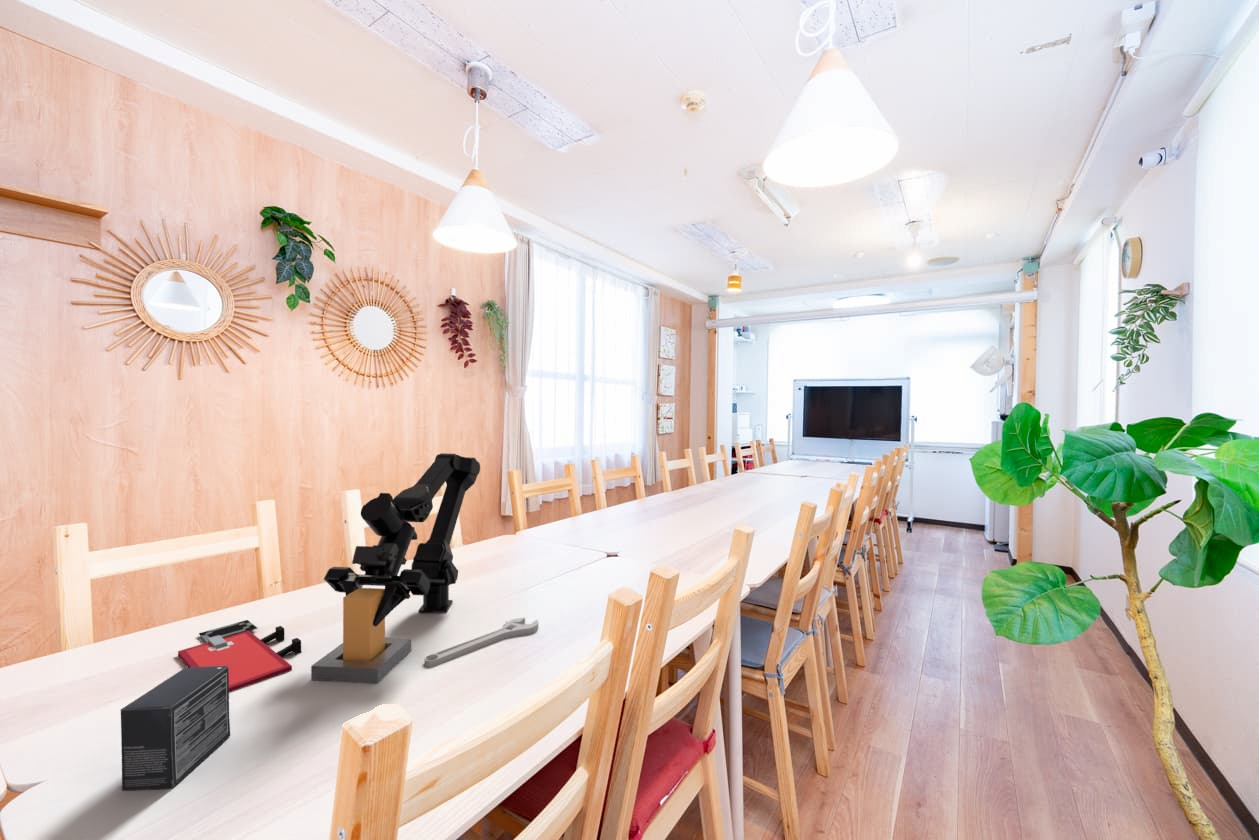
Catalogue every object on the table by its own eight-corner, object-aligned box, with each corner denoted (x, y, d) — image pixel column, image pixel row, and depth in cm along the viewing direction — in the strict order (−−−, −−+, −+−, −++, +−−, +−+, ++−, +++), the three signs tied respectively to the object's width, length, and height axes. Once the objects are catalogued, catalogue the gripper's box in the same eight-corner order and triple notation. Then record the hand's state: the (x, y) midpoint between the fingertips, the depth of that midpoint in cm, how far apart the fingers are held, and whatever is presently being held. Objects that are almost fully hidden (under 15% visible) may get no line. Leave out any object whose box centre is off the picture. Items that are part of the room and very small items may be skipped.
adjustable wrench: (428, 671, 94) (428, 661, 94) (414, 658, 99) (414, 649, 99) (542, 631, 111) (542, 622, 111) (526, 621, 116) (526, 614, 116)
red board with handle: (257, 621, 114) (168, 646, 102) (257, 608, 114) (168, 632, 102) (314, 664, 96) (214, 702, 84) (314, 650, 96) (213, 685, 84)
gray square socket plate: (352, 648, 101) (352, 635, 101) (411, 650, 101) (411, 638, 100) (311, 680, 89) (311, 665, 89) (377, 683, 89) (377, 668, 89)
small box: (184, 737, 73) (184, 665, 73) (232, 735, 74) (232, 663, 74) (116, 792, 63) (116, 708, 63) (173, 789, 64) (173, 706, 63)
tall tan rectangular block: (359, 650, 98) (359, 587, 97) (384, 651, 97) (385, 588, 97) (343, 663, 93) (343, 597, 92) (369, 664, 92) (370, 598, 92)
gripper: (330, 525, 99) (288, 603, 88) (423, 528, 98) (393, 608, 87) (354, 554, 107) (319, 629, 96) (441, 557, 106) (415, 633, 95)
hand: (360, 624), depth 93 cm, fingers closed on tall tan rectangular block, 5 cm apart
